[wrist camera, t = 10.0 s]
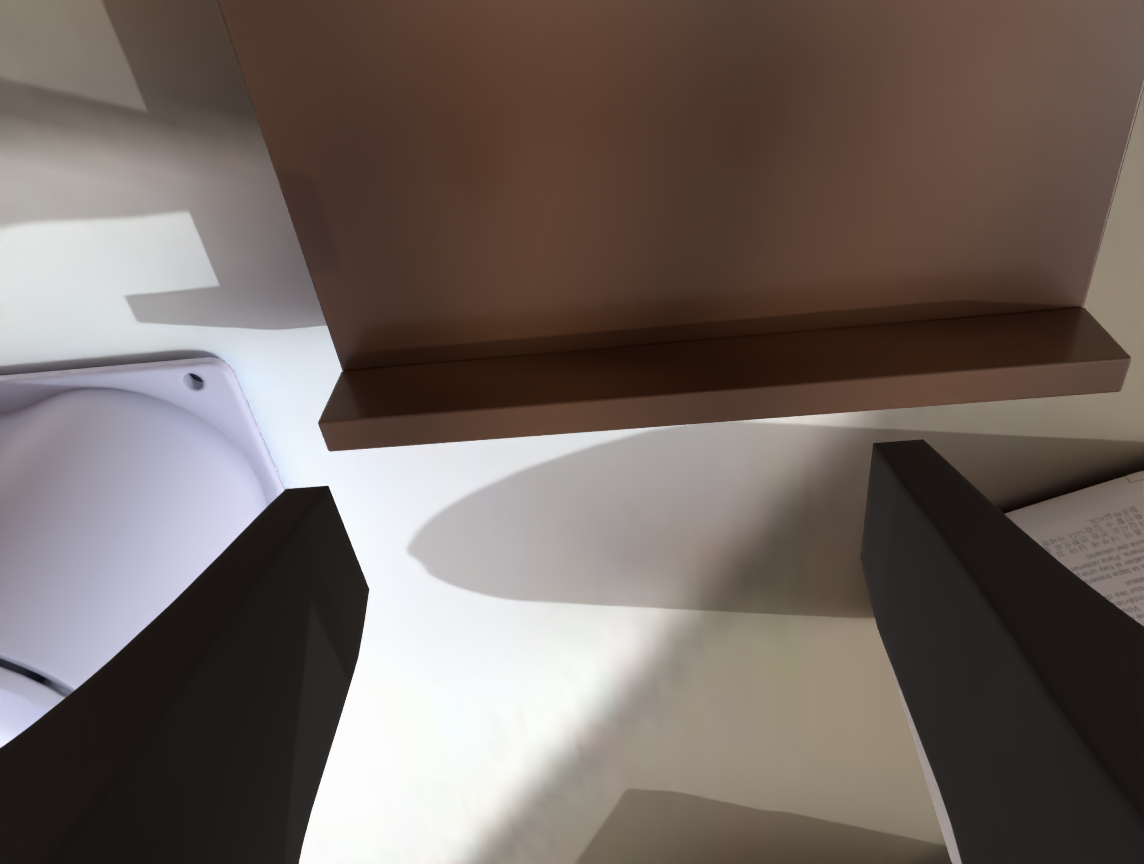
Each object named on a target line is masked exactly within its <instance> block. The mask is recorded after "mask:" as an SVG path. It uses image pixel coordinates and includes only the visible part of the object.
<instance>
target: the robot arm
mask: <svg viewBox="0 0 1144 864" xmlns="http://www.w3.org/2000/svg"><path fill="white" fill-rule="evenodd" d="M190 373H191V374H196V375H197V376H199V377H200V378H201V379H202V380H203V382H200V381H196V380H195V379H193V378H192V377H191V375H190ZM861 561H862V566H863V570H864V574H865V579H866V583H867V587H868V591H869V596H870V600H871V604H872V608H873V611H874V615H875V619H876V623H877V627H878V630H879V633H880V636H881V638H882V641H883V644H884V646H885V649H886V652H887V654H888V657H889V660H890V662H891V665H892V668H893V670H894V673H895V676H896V678H897V681H898V683H899V686H900V689H901V691H902V694H903V696H904V699H905V702H906V704H907V707H908V709H909V712H910V715H911V717H912V720H913V722H914V725H915V728H916V730H917V733H918V735H919V738H920V741H921V743H922V746H923V748H924V751H925V754H926V756H927V759H928V761H929V764H930V767H931V769H932V772H933V774H934V777H935V780H936V782H937V785H938V787H939V790H940V793H941V796H942V799H943V802H944V805H945V808H946V811H947V814H948V817H949V820H950V823H951V826H952V830H953V834H954V837H955V841H956V844H957V848H958V852H959V855H960V859H961V863H962V864H1144V626H1143V625H1141V624H1140V623H1138V622H1137V621H1136V620H1134V619H1133V618H1131V617H1130V616H1129V615H1127V614H1126V613H1125V612H1123V611H1122V610H1121V609H1119V608H1118V607H1117V606H1115V605H1114V604H1113V603H1112V602H1110V601H1109V600H1108V599H1106V598H1105V597H1104V596H1102V595H1101V594H1100V593H1098V592H1097V591H1096V590H1095V589H1093V588H1092V587H1091V586H1089V585H1088V584H1087V583H1085V582H1084V581H1083V580H1082V579H1080V578H1079V577H1078V576H1076V575H1075V574H1074V573H1073V572H1072V571H1070V570H1069V569H1068V568H1067V567H1065V566H1064V565H1063V564H1062V563H1060V562H1059V561H1058V560H1057V559H1056V558H1055V557H1053V556H1052V555H1051V554H1050V553H1049V552H1048V551H1046V550H1045V549H1044V548H1043V547H1042V546H1040V545H1039V544H1038V543H1037V542H1036V541H1035V540H1033V539H1032V538H1031V537H1030V536H1029V535H1028V534H1026V533H1025V532H1024V531H1023V530H1022V529H1021V528H1019V527H1018V526H1017V525H1016V524H1015V523H1014V522H1013V521H1011V520H1010V519H1009V518H1008V517H1007V516H1006V515H1005V514H1004V513H1002V512H1001V511H1000V510H999V509H998V508H997V507H996V506H995V505H994V504H993V503H992V502H990V501H989V500H988V499H987V498H986V497H985V496H984V495H983V494H982V493H981V492H979V491H978V490H977V489H976V488H975V487H974V486H973V485H972V484H971V483H970V482H969V481H968V480H967V479H965V478H964V477H963V476H962V475H961V474H960V473H959V472H958V471H957V470H956V469H955V468H954V467H953V466H952V465H950V464H949V463H948V462H947V461H946V460H945V459H944V458H943V457H942V456H941V455H940V454H939V453H938V452H936V451H935V450H934V449H933V448H932V447H931V446H930V445H929V444H928V443H926V442H925V441H924V440H910V441H897V442H884V443H873V451H872V460H871V469H870V478H869V487H868V496H867V505H866V514H865V523H864V532H863V541H862V550H861ZM368 594H369V588H368V585H367V583H366V580H365V577H364V575H363V572H362V570H361V567H360V565H359V562H358V560H357V557H356V555H355V552H354V550H353V547H352V545H351V542H350V540H349V537H348V534H347V532H346V529H345V527H344V524H343V522H342V519H341V517H340V514H339V512H338V509H337V507H336V504H335V502H334V499H333V496H332V494H331V491H330V489H329V486H320V487H307V488H294V489H285V488H284V486H283V483H282V481H281V479H280V476H279V474H278V472H277V470H276V467H275V465H274V463H273V460H272V458H271V456H270V453H269V451H268V449H267V446H266V444H265V442H264V439H263V437H262V435H261V432H260V430H259V428H258V425H257V423H256V421H255V418H254V416H253V414H252V412H251V409H250V407H249V405H248V402H247V400H246V398H245V395H244V393H243V391H242V388H241V386H240V384H239V381H238V379H237V377H236V374H235V372H234V370H233V369H232V367H231V366H230V365H229V364H228V363H226V362H225V361H224V360H221V359H219V358H214V357H205V358H194V359H182V360H171V361H160V362H149V363H137V364H126V365H115V366H104V367H92V368H81V369H70V370H59V371H47V372H36V373H25V374H14V375H2V376H0V864H299V859H300V854H301V849H302V845H303V841H304V837H305V833H306V829H307V826H308V822H309V818H310V814H311V810H312V807H313V804H314V801H315V797H316V794H317V791H318V788H319V785H320V781H321V778H322V775H323V772H324V768H325V765H326V762H327V759H328V755H329V752H330V749H331V746H332V742H333V739H334V736H335V733H336V730H337V726H338V723H339V720H340V717H341V713H342V710H343V707H344V703H345V700H346V697H347V693H348V690H349V687H350V683H351V680H352V677H353V673H354V670H355V666H356V663H357V659H358V655H359V650H360V644H361V639H362V633H363V627H364V621H365V614H366V607H367V601H368Z"/></svg>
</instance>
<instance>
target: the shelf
mask: <svg viewBox="0 0 1144 864" xmlns="http://www.w3.org/2000/svg"><path fill="white" fill-rule="evenodd" d="M217 1H218V4H219V7H220V10H221V13H222V16H223V19H224V22H225V25H226V28H227V31H228V34H229V37H230V40H231V43H232V45H233V48H234V51H235V54H236V57H237V60H238V63H239V66H240V69H241V72H242V75H243V78H244V81H245V84H246V87H247V90H248V93H249V96H250V99H251V102H252V105H253V108H254V110H255V113H256V116H257V119H258V122H259V125H260V128H261V131H262V134H263V137H264V140H265V143H266V146H267V149H268V152H269V155H270V158H271V161H272V164H273V167H274V170H275V172H276V175H277V178H278V181H279V184H280V187H281V190H282V193H283V196H284V199H285V202H286V205H287V208H288V211H289V214H290V217H291V220H292V223H293V226H294V229H295V232H296V234H297V237H298V240H299V243H300V246H301V249H302V252H303V255H304V258H305V261H306V264H307V267H308V270H309V273H310V276H311V279H312V282H313V285H314V288H315V291H316V294H317V296H318V299H319V302H320V305H321V308H322V311H323V314H324V317H325V320H326V323H327V326H328V329H329V332H330V335H331V338H332V341H333V344H334V347H335V350H336V353H337V356H338V358H339V361H340V364H341V367H342V370H343V371H342V372H341V374H340V377H339V379H338V381H337V383H336V385H335V387H334V389H333V392H332V394H331V396H330V398H329V400H328V402H327V404H326V407H325V409H324V411H323V413H322V415H321V417H320V419H319V422H318V424H319V427H320V429H321V432H322V435H323V437H324V440H325V443H326V445H327V448H328V450H329V451H343V450H356V449H369V448H382V447H395V446H409V445H422V444H435V443H448V442H461V441H475V440H488V439H501V438H514V437H527V436H541V435H554V434H567V433H580V432H593V431H607V430H620V429H633V428H646V427H659V426H672V425H686V424H699V423H712V422H725V421H738V420H752V419H765V418H778V417H791V416H804V415H818V414H831V413H844V412H857V411H870V410H883V409H897V408H910V407H923V406H936V405H949V404H963V403H976V402H989V401H1002V400H1015V399H1029V398H1042V397H1055V396H1068V395H1081V394H1095V393H1108V392H1119V391H1121V389H1122V386H1123V383H1124V380H1125V377H1126V373H1127V370H1128V367H1129V364H1130V361H1131V357H1130V356H1129V355H1128V354H1127V353H1126V352H1125V350H1124V349H1123V348H1122V347H1121V346H1120V345H1119V344H1118V343H1117V342H1116V341H1115V340H1114V339H1113V338H1112V337H1111V336H1110V334H1109V333H1108V332H1107V331H1106V330H1105V329H1104V328H1103V327H1102V326H1101V325H1100V324H1099V323H1098V322H1097V321H1096V319H1095V318H1094V317H1093V316H1092V315H1091V314H1090V313H1089V312H1088V311H1087V310H1086V309H1085V308H1083V307H1084V303H1085V299H1086V296H1087V292H1088V288H1089V285H1090V281H1091V278H1092V274H1093V270H1094V267H1095V263H1096V259H1097V256H1098V252H1099V248H1100V245H1101V241H1102V238H1103V234H1104V230H1105V227H1106V223H1107V219H1108V216H1109V212H1110V209H1111V205H1112V201H1113V198H1114V194H1115V190H1116V187H1117V183H1118V179H1119V176H1120V172H1121V169H1122V165H1123V161H1124V158H1125V154H1126V150H1127V147H1128V143H1129V139H1130V136H1131V132H1132V129H1133V125H1134V121H1135V118H1136V114H1137V110H1138V107H1139V103H1140V100H1141V96H1142V92H1143V89H1144V0H217Z"/></svg>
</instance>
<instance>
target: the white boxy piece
mask: <svg viewBox="0 0 1144 864" xmlns="http://www.w3.org/2000/svg"><path fill="white" fill-rule="evenodd" d="M1005 515H1006V516H1007V517H1008V518H1009V519H1010V520H1011V521H1013V522H1014V523H1015V524H1016V525H1017V526H1018V527H1019V528H1021V529H1022V530H1023V531H1024V532H1025V533H1026V534H1028V535H1029V536H1030V537H1031V538H1032V539H1033V540H1035V541H1036V542H1037V543H1038V544H1039V545H1040V546H1042V547H1043V548H1044V549H1045V550H1046V551H1048V552H1049V553H1050V554H1051V555H1052V556H1053V557H1055V558H1056V559H1057V560H1058V561H1059V562H1060V563H1062V564H1063V565H1064V566H1065V567H1067V568H1068V569H1069V570H1070V571H1072V572H1073V573H1074V574H1075V575H1076V576H1078V577H1079V578H1080V579H1082V580H1083V581H1084V582H1085V583H1087V584H1088V585H1089V586H1091V587H1092V588H1093V589H1095V590H1096V591H1097V592H1098V593H1100V594H1101V595H1102V596H1104V597H1105V598H1106V599H1108V600H1109V601H1110V602H1112V603H1113V604H1114V605H1115V606H1117V607H1118V608H1119V609H1121V610H1122V611H1123V612H1125V613H1126V614H1127V615H1129V616H1130V617H1131V618H1133V619H1134V620H1136V621H1137V622H1138V623H1140V624H1141V625H1143V626H1144V471H1141V472H1137V473H1133V474H1130V475H1127V476H1124V477H1121V478H1117V479H1114V480H1111V481H1108V482H1104V483H1101V484H1098V485H1095V486H1091V487H1088V488H1085V489H1082V490H1079V491H1075V492H1072V493H1069V494H1066V495H1063V496H1059V497H1056V498H1052V499H1049V500H1046V501H1043V502H1040V503H1037V504H1034V505H1030V506H1027V507H1024V508H1021V509H1018V510H1015V511H1012V512H1008V513H1005ZM887 655H888V654H887ZM888 658H889V657H888ZM889 662H890V660H889ZM890 665H891V662H890ZM891 668H892V665H891ZM892 672H893V675H894V678H895V681H896V685H897V688H898V691H899V694H900V697H901V701H902V704H903V707H904V711H905V714H906V717H907V720H908V723H909V726H910V729H911V732H912V734H913V737H914V742H915V746H916V750H917V753H918V756H919V759H920V763H921V766H922V769H923V772H924V775H925V778H926V782H927V785H928V788H929V791H930V795H931V798H932V801H933V804H934V808H935V811H936V814H937V817H938V821H939V824H940V827H941V830H942V833H943V837H944V840H945V843H946V846H947V849H948V853H949V856H950V859H951V862H952V864H962V863H961V859H960V855H959V852H958V848H957V844H956V841H955V837H954V834H953V830H952V826H951V823H950V820H949V817H948V814H947V811H946V808H945V805H944V802H943V799H942V796H941V793H940V790H939V787H938V785H937V782H936V780H935V777H934V774H933V772H932V769H931V767H930V764H929V761H928V759H927V756H926V754H925V751H924V748H923V746H922V743H921V741H920V738H919V735H918V733H917V730H916V728H915V725H914V722H913V720H912V717H911V715H910V712H909V709H908V707H907V704H906V702H905V699H904V696H903V694H902V691H901V689H900V686H899V683H898V681H897V678H896V676H895V673H894V670H893V668H892Z"/></svg>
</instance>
